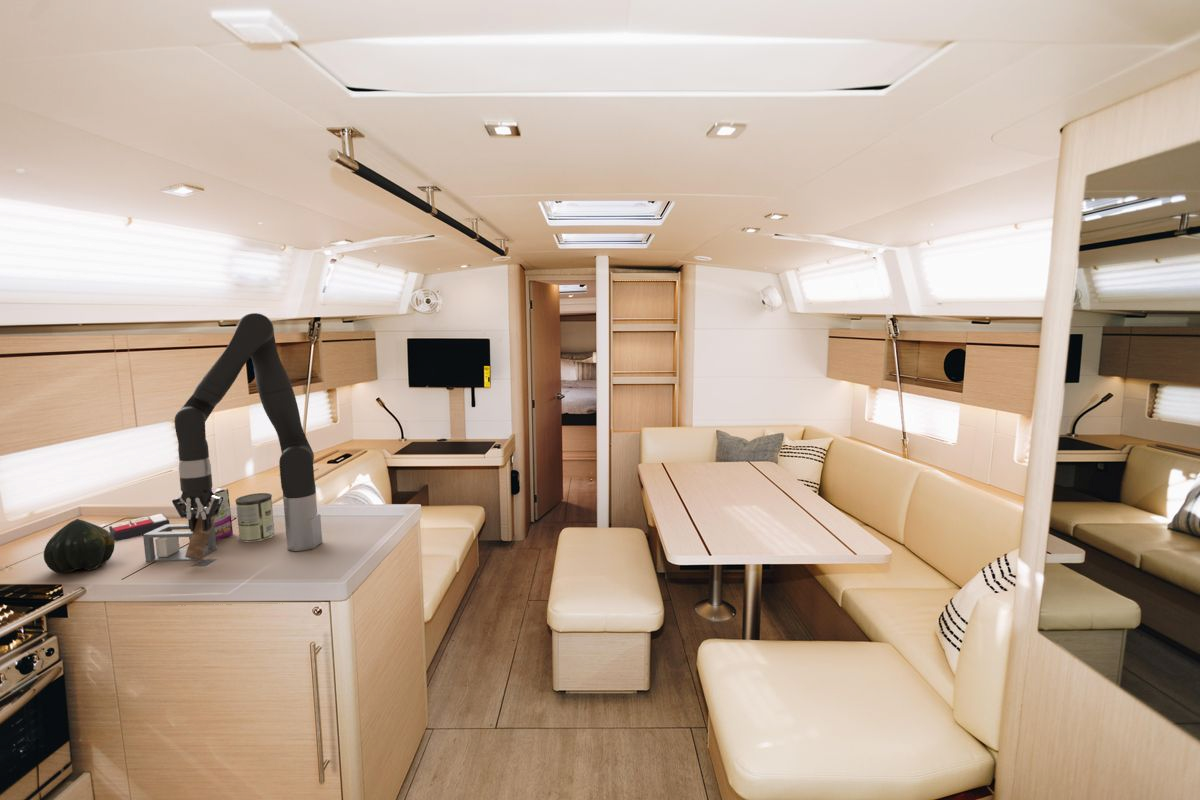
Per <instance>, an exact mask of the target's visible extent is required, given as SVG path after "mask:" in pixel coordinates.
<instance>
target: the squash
mask: <svg viewBox="0 0 1200 800" xmlns="http://www.w3.org/2000/svg"><path fill="white" fill-rule="evenodd" d="M115 544H116V541H115V540H114V538H113V536H112V535H111V533H110V531H108V530H107V529H105V528H103V527H101V526H99V525H97V524H94V523H91V522H88V521H86V520H84V519H83V520H82V519H80V518H76V519H74V520H72V521H70V522H69V523H67V524H66V525H64V526H63V527H62V528H61V529H59V530H58V531H57V532H56V533H54V535H53V536H51V538H50V539H49V540H48V542H47V543H46V545H45V547H44V550H43V560H44V563H45V564H46V566H47V567H48V568H49V570H51V571H53V572H55V573H59V574H65V573H66V574H67V573H71V572H73V571H75V570H81V569H83V568H84V570H90V571H91V570H94V569H96V568H98V567H99V566H100V565H103V564H105V563H106V562H108V561H109V560H110V559H111V557H112V555H113V553H114V551H115Z"/></svg>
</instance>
